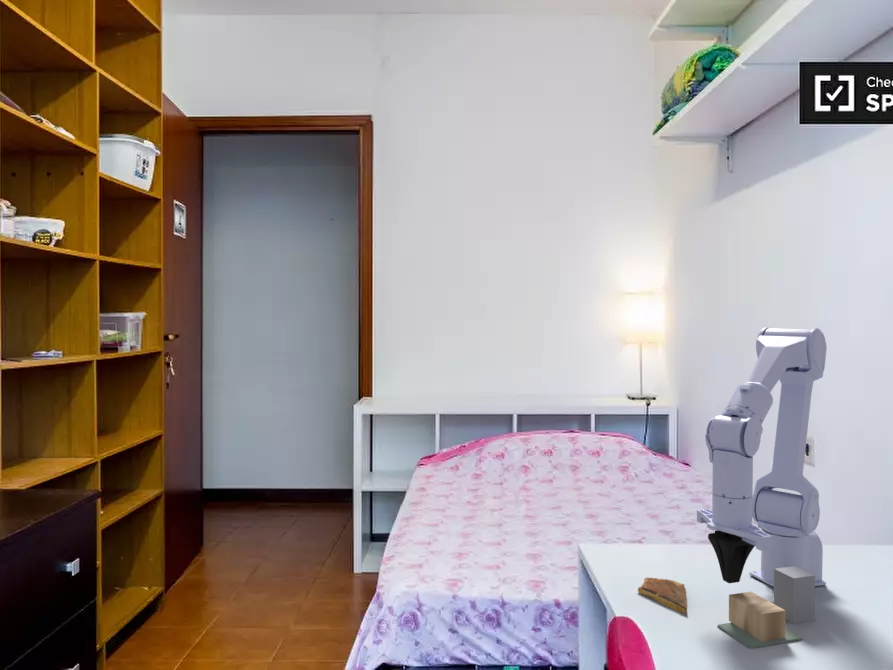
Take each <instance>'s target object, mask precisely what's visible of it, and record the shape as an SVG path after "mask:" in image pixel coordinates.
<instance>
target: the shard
mask: <svg viewBox="0 0 893 670" xmlns="http://www.w3.org/2000/svg"><path fill="white" fill-rule="evenodd" d="M637 592H638V594H640V595H643V596H646V597H649V598H651V599H653V600H655V601H657V602H658V603H660V604H662V605H664V606H666V607H668V608H670V609H673V610H674V611H676V612H679V613H682V614H685V615H686V614H687V611H688V605H687V589H686V587H685V584H684V583H681V582H678V581H675V580H671V579H667V578H665V579H664V578H656V577H644V578H643V582H642V585H641V586H640V587H638V588H637Z"/></svg>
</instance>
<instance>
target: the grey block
mask: <svg viewBox="0 0 893 670" xmlns="http://www.w3.org/2000/svg"><path fill="white" fill-rule="evenodd" d="M773 604H775V605H776V606H778V607H780V608H782V609H784V610H786V611H785V621H787V622H788V623H791V624H792V625H797V624H802V623H808V622H813V621H815V620H816V617H815V616H816V615H815V610H816V586H815V575H814V574H811V573H809V572H807V571H805V570H803V569H801V568H798V567H796V566H791V567H784V568H777V569H774V587H773Z"/></svg>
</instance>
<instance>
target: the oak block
mask: <svg viewBox="0 0 893 670" xmlns="http://www.w3.org/2000/svg"><path fill="white" fill-rule="evenodd" d="M785 611H786V610H784V609H782V608H780V607H778V606H776V605H775V604H774V602H772V601H770V600H767V599H765V598H763V597H762V596H760V595H758V594H757V593H755V592H753V591H746V592H745V591H743V592H740V593H739V592H738V593H732V594H728V622H729V623H733V624H735V625H736V626H738V627H739V628H741V629H743V630H744V631H746V632H747V633H749V634H750V635H752V636H754V637H755V638H757V639H758V640H760V641H761V642H764V641H770V640H776V639H782V638H785V627H786V620H785Z"/></svg>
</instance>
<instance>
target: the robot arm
mask: <svg viewBox="0 0 893 670" xmlns="http://www.w3.org/2000/svg"><path fill="white" fill-rule="evenodd" d="M827 349H828V348H827V342H826V337H825V335H824V333H823V331H822V330H821V329H820V328H818V327H817V328H815V327H814V328H777V327H776V328H773V327H766V326H765V327H763V328H762V329H761V330H760V331H759V333H758V334H757V337H756V342H755V350H756V356H757V360H756V362H755V364H754V368H753V371H751V374H750V377H749V380H748V381H747V382H743V383H741V384H739V385H738V386H737V387H736V389H735V391H734V392H733V394H732V395H731V398H730V400H729V401H728V403H727V405H726V407H724V409H723V411H722V414H721V415H720V414H719V415H716V416H715V417H713V418H711V419H710V420H709V421H708V424H707V425H706V426H707V427H706V432H705V433H706V434H704V435H705V437H704V438H705V445H706V448H707V450H708V459H709V462H710V463H712V487H711V488H712V490H711V491H712V492H711V493H712V500H711V501H712V509H707V508H703V509H697V510H696V522H697V523H699V524H706V528H707V529H709V530H712V531H714V532H710V533H708V534H707V539H708V541H709V542H710V545H712V548H713V549H714V552H715V555H716V558H717V561H718V565H719V569H720V573H721V577H722V580H723V581H724V582H725V583H728V584H734V583H735V584H736V583H740V581H741V577H742V575H743V570H744V567H745V565H746V562H747V560H748V558H749V556H750V554H751V552H752V551H753V549H754V548H755V549H756V550H759V551H760V569H759V570H752V571H749V575H750V576H751V577H753V578H756V579H758V580H760V581H761V582H763V583H766V584H767V585H769V586H771V587H773V588H774V569H777V568H784V567H791V566H796V567H798V568H801V569H803V570H805V571H807V572H809V573H811V574H814V575H815V587H819V586H825V585H827V582H826V581H825V580H823V553H824V552H823V544H822V541H821V538H820V536H819V535H818V533H817V532H816V531H815V530H817V527H818V524H819V522H820V513H821V511H820V510H821V508H820V504H819V503H820V502H819V500H820V499H819V498H820V493H819V490H818V488H816V486H815V485H814V484H812V483H811V482H810V481H809V480H808V478H806V477H805V476H804V465H805V457H806V447H807V437H808V428H809V420H810V412H811V411H810V410H811V400H812V392H813V386H814V382H816V381H818V380H820V379H822V378H823V376H824V371H825V366H826V357H827ZM778 382H779V383H780V384H781V388H780V396H779V405H778V412H777V413H778V414H777V422H776V429H775V430H776V431H775V439H774V440H775V442H774V448H773V449H774V450H773V456H772V457H773V458H772V465H771V466H772V467H771V470H770V472H768V473H767V474H765V475H763V476H761V477H760V478H758V479H757V480H756V482H755V487H754V488H753V481H754V480H753V479H754V478H753V477H754V476H753V475H754V474H753V473H754V470H753V468H754V467H753V466H754V463H753V462H754V456H755V455H756V454H757V453H758V451H759V449H760V444H761V437H762V434H763V430H764V429H763V425H762V424H763V422H764V421H765V419H766V417H767V415H768V413H769V411H770V409H771V407H772V405H773V404H774V403H773V402H774V398H773V395H772V393H771V392H772V391H773V389H774V388H775V386H776V384H777V383H778ZM753 489H754V491H753ZM775 489H783V490H788V491H793V492H796V493H792V492H787V491H786V492H785V491H780V490H775ZM797 493H799V494H797ZM753 521H754V522H755V523H757V525H756V524H754V523H753Z"/></svg>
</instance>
